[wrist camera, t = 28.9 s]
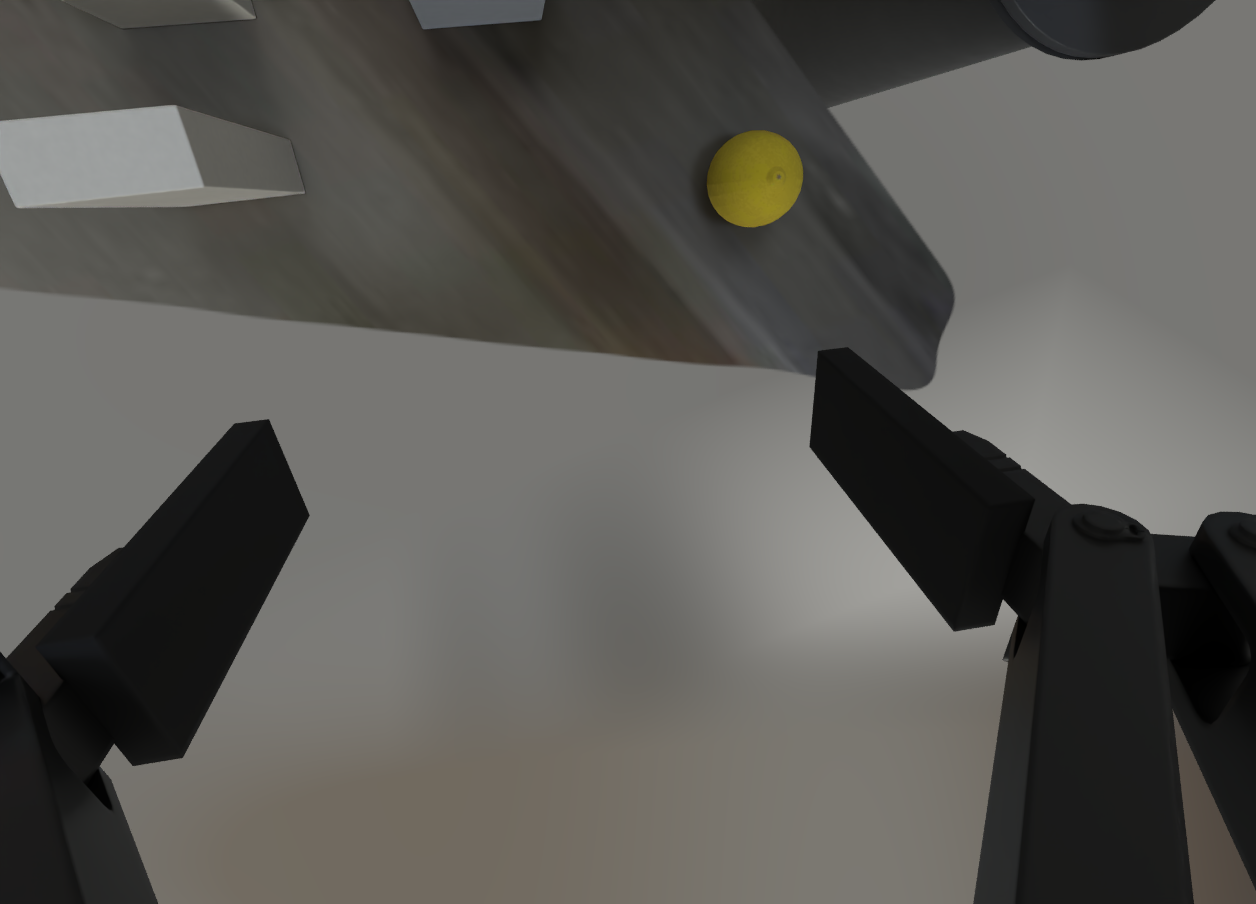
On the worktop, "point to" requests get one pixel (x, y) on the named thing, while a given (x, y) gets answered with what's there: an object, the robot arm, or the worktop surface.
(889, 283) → the worktop surface
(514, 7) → the grey books
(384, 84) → the worktop surface
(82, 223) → the worktop surface
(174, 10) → the cream book row
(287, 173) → the cream tall block
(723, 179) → the lemon
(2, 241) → the worktop surface
